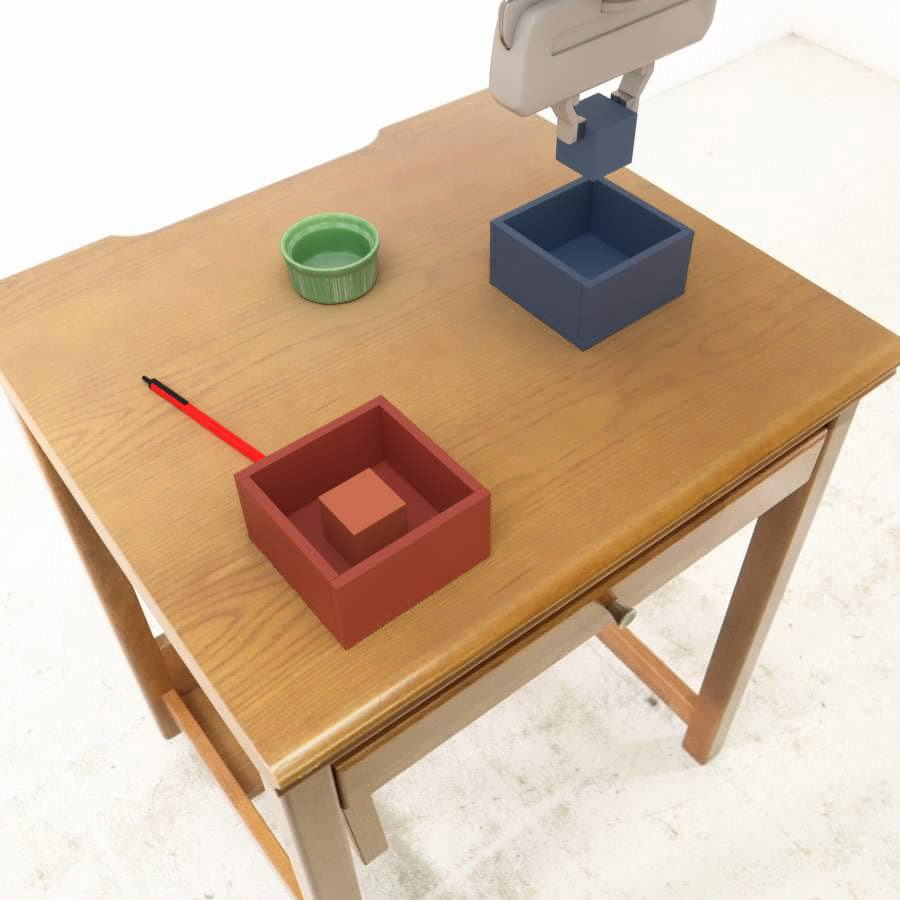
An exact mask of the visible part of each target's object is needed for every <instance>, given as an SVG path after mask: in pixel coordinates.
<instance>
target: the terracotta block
mask: <svg viewBox="0 0 900 900" xmlns="http://www.w3.org/2000/svg"><path fill="white" fill-rule="evenodd" d="M318 501H319V507H320V513H321V519H322V525H323V531H324V536H325V538H326V539H327V540H328V541H329V543H330V544H331V545H332V546H333V547H334V548H335V549H336V550H337V551H338V552H339V553H340V554H341V555H342V557H343V558H344V559H345V560H346V561H347V562H348V563H349V564H350V565H351V566H352V567H354V566H356V565H357V564H359V563H360V562H362V561H364V560H365V559H367V558H369V557H370V556H372V555H373V554H375V553H377V552H378V551H380V550H382V549H383V548H385V547H386V546H388V545H390V544H391V543H393V542H395V541H396V540H398V539H399V538H401V537H403V536H404V535H406V534H408V533H409V532H408V519H407V506H406V503H405V502H404V501H403V500H402V499H401V498H400V497H399V496H398V495H397V494H396V493H395V492H394V491H393V490H392V489H391V488H390V487H389V486H388V485H387V484H386V483H385V482H384V481H382V480H381V479H380V478H379V477H378V476H377V475H376V474H375V473H374V472H373V471H372V470H371V469H370V468H368V469H366V470H365V471H363V472H361V473H359V474H358V475H356V476H354V477H352V478H351V479H349V480H347V481H345V482H344V483H342V484H340V485H338V486H337V487H335V488H333V489H331V490H330V491H328V492H326V493H324V494H323V495H321V496H319V497H318Z"/></svg>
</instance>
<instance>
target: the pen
mask: <svg viewBox="0 0 900 900" xmlns="http://www.w3.org/2000/svg"><path fill="white" fill-rule="evenodd" d="M141 380H143V381H144V382H145V383H147V384H148V388H149V389H150V390H151V391H152V392H154V393H155V394H157V395H159V396H160V397H161V398H162V399H164V400H165V401H167V402H168V403H170V404H171V405H173V406H174V407H175V408H177V409H179V410H180V411H181V412H183V413H184V414H185V415H187V416H188V417H190V418H191V419H192V420H194V421H195V422H197V423H198V424H199V425H201V426H202V427H204V428H205V429H207V430H208V431H209V432H211V433H212V434H214V435H215V436H216V437H218V438H220V439H221V440H222V441H224V442H225V443H226V444H228V445H230V446H231V447H232V448H233V449H235V451H238V452H239V453H241V454H242V455H244V456H245V457H246V458H248V459H250V461H252V462H254V463H255V462H257V461H259V460H261V459H263V458H265V457H266V456H267V455H265V454H263V453H262V452H261V451H259V450H258V449H256V448H255V447H254V446H252V445H251V444H249V443H248V442H246V441H245V440H243V439H242V438H241V437H239V435H236V434H235V433H233V432H232V431H230V430H229V429H227V428H226V427H225V426H223V425H222V424H220V423H219V422H218V421H216V420H215V419H213V418H212V417H210V416H209V415H207V414H206V413H205V412H203V411H201V410H200V409H199V408H198V407H196V406H195V405H194V404H192V403H190V401H189V400H187V399H186V398H184V397H183V396H181V395H180V394H178V393H177V392H176V391H174V390H173V389H171V387H168V386H167V385H166V384H164V383H163V382H161V381H160V380H158V379H157V378H155V377H153V378H149V377H148V376H146V375H142V376H141Z"/></svg>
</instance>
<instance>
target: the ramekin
mask: <svg viewBox="0 0 900 900" xmlns="http://www.w3.org/2000/svg"><path fill="white" fill-rule="evenodd" d="M380 238H381V237H380V233H379V230H378V229H377V228H376V227H375V226H374V225H373V223H371V222H370V221H369V220H367V219H365V218H363V217H360V216H358V215H355V214H351V213H345V212H323V213H318V214H313V215H310V216H307V217H304V218H302V219H300V220H298V221H296V222H295V223H293V224H292V225H291V226H290V227H288V228H287V230H285V232H284V233H283V234H282V237H281V239H280V243H279V246H280V247H279V249H280V253H281V256H282V257H283V260H284V262H285V264H286V268H287V271H288V276H289V278H290V283H291V285H292V287H293V289H294V290H295V292H297V294H298V295H299V296H300V297H302V298H304V299H306V300H308V301H309V302H314V303H317V304H324V305H326V304H327V305H335V304H343V303H348V302H351V301H354V300H356V299H359V298H361V297H363V296H364V295H366V294H367V293H368V292H369V291H370V290H371V289H372V288H373V286H374V285H375V283H376V281H377V278H378V256H379V255H378V254H379V253H378V251H379V249H380V241H381V239H380Z"/></svg>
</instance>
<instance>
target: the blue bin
mask: <svg viewBox="0 0 900 900" xmlns="http://www.w3.org/2000/svg"><path fill="white" fill-rule="evenodd" d="M695 233H696V232H695V230H694V229H693V228H691V227H689V226H688V225H686V224H684V223H682V222H681V221H679V220H678V219H676V218H675V217H672V216H671V215H669V214H667V213H665V212H664V211H662V210H660V209H659V208H657V207H655V206H654V205H652V204H651V203H649V202H647V201H645V200H644V199H642V198H640V197H639V196H637V195H635V194H634V193H632V192H630V191H628V190H627V189H625V188H623V187H622V186H620V185H618V184H616V183H615V182H613V181H611V180H610V179H608V178H606V176H604V177H602V178H600V179H598V180H596V181H594V182H592V181H590V180H589V179H587V178H585V177H584V176H582V175H581V176H580V177H578V178H576V179H574V180H572V181H570V182H568V183H566V184H563V185H562V186H559V187H557V188H555V189H553V190H551V191H549V192H547V193H545V194H543V195H540V196H538V197H537V198H534V199H533V200H530V201H529V202H525V203H524V204H522V205H519V206H518V207H516V208H514V209H512V210H509V211H507V212H505V213H503V214H501V215H499V216H497V217H495V218H493V219H490V221H489V284H490V285H492V286H493V287H494V288H496V289H497V290H499V291H500V292H501V293H503V294H504V295H505V296H507V298H509V299H511V300H512V301H514V303H516V304H518V305H519V306H520V307H521V308H523V309H525V310H526V311H527V312H529V313H530V314H531V315H533V316H534V317H535V318H537V320H539V321H541V322H542V323H543V324H544V325H546V326H548V327H549V328H550V329H552V330H553V331H555V332H556V333H557V334H559V335H560V336H561V337H563V338H564V339H565V340H567V341H568V342H570V343H571V344H572V345H574V346H575V347H576V348H578V349H579V350H581V351H582V352H585V351H586V350H588V349H590V348H591V347H593V346H595V345H597V344H599V343H601V342H602V341H605V340H606V339H607V338H609V337H611V336H613V335H614V334H616V333H617V332H620V331H622V330H623V329H625V328H627V327H628V326H630V325H632V324H634V323H635V322H637V321H638V320H640V319H642V318H644V317H645V316H647V315H649V314H651V313H653V312H654V311H656V310H659V309H660V308H662V307H664V306H665V305H667V304H668V303H670V302H672V301H674V300H676V299H677V298H679V297H680V296H682V295H684V294H685V290H686V285H687V280H688V274H689V273H688V272H689V268H690V263H691V256H692V250H693V244H694V238H695Z"/></svg>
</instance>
